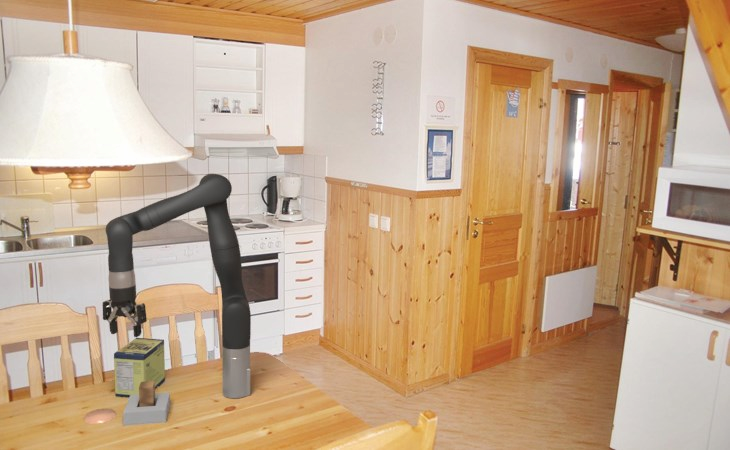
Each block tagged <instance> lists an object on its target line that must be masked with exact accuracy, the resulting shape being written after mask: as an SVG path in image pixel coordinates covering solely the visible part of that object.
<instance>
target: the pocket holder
mask: <svg viewBox="0 0 730 450" xmlns="http://www.w3.org/2000/svg"><path fill="white" fill-rule="evenodd" d="M170 407H171V392H158V393H157V392H155V406H147V407H140V403H139V395H130V397H129V398H128V399H127V403H126V406H125V408H124V410H123V411H122V412H123V413H122V415H123V416H122V417H123V419H122V420H123V426H125V427H126V426H137V425H149V424H150V425H151V424H164V423H166V422H167V419H168V415H169V412H170Z"/></svg>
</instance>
